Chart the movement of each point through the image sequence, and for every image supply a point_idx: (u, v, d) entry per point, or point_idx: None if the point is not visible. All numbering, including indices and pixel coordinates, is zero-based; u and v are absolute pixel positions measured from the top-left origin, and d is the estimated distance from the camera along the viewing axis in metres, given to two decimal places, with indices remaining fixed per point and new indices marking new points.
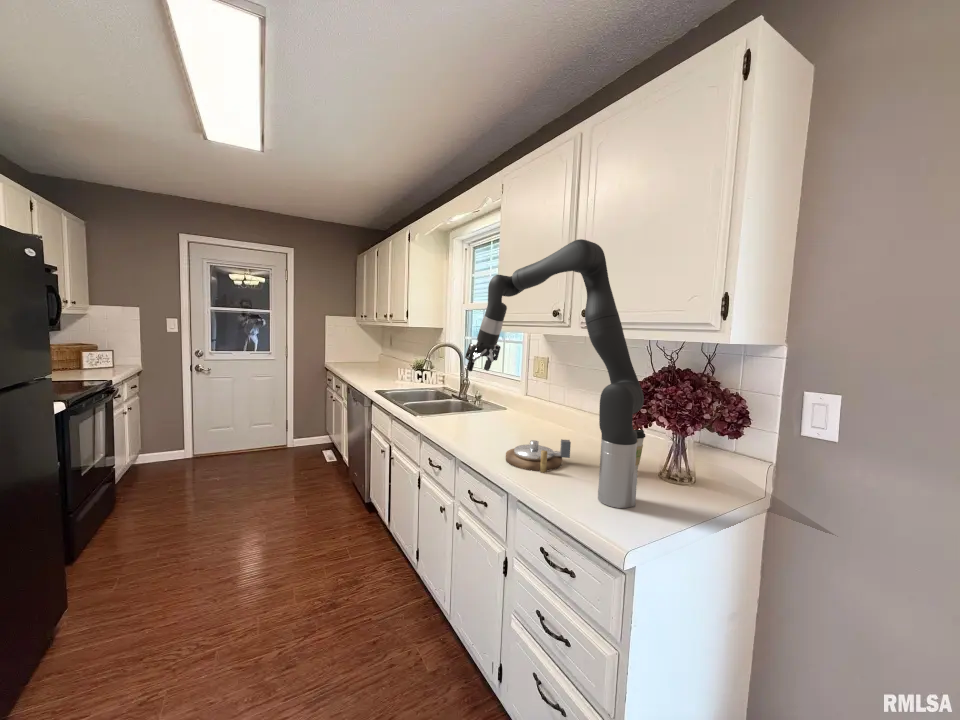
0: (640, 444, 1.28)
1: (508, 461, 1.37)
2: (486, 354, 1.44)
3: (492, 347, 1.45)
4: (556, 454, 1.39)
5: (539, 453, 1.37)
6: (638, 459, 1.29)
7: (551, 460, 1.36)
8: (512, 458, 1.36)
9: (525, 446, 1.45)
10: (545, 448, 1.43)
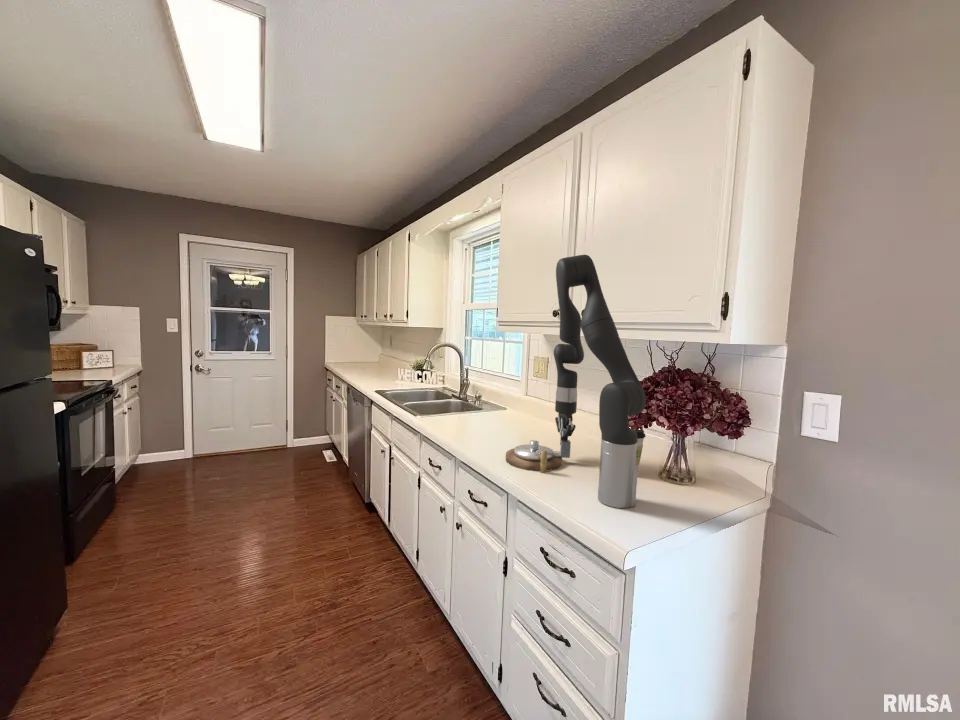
0: (640, 444, 1.28)
1: (508, 461, 1.37)
2: None
3: (565, 418, 1.39)
4: (556, 454, 1.39)
5: (539, 453, 1.37)
6: (638, 459, 1.29)
7: (551, 460, 1.36)
8: (512, 458, 1.36)
9: (525, 446, 1.45)
10: (545, 448, 1.43)
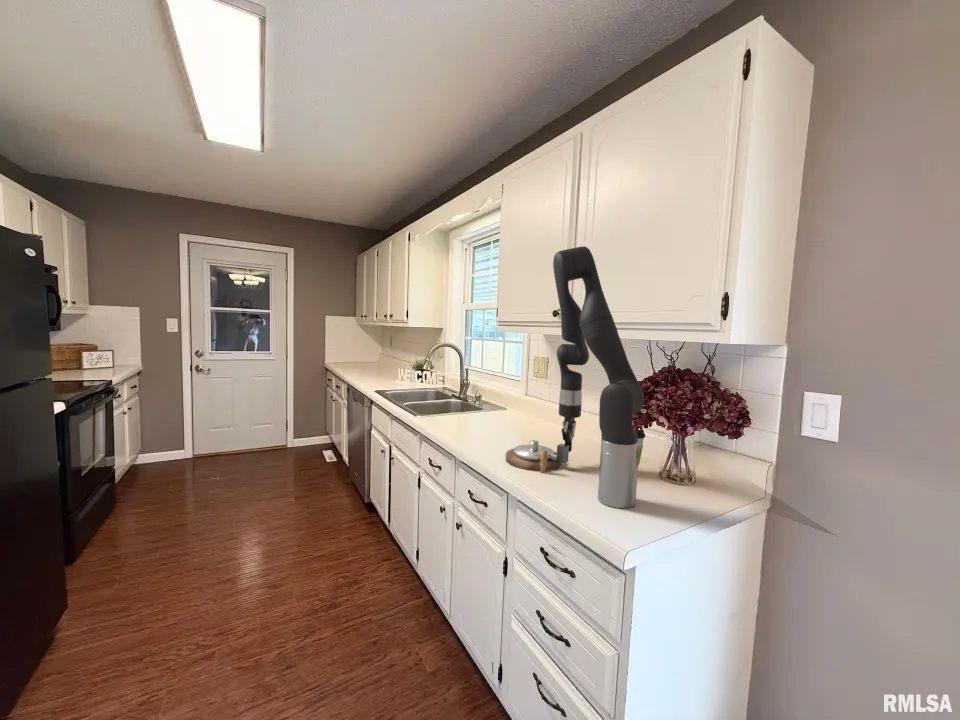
0: (640, 444, 1.28)
1: (508, 461, 1.37)
2: None
3: None
4: (552, 457, 1.35)
5: (533, 453, 1.37)
6: (638, 459, 1.29)
7: (551, 460, 1.36)
8: (512, 458, 1.36)
9: None
10: (548, 450, 1.40)
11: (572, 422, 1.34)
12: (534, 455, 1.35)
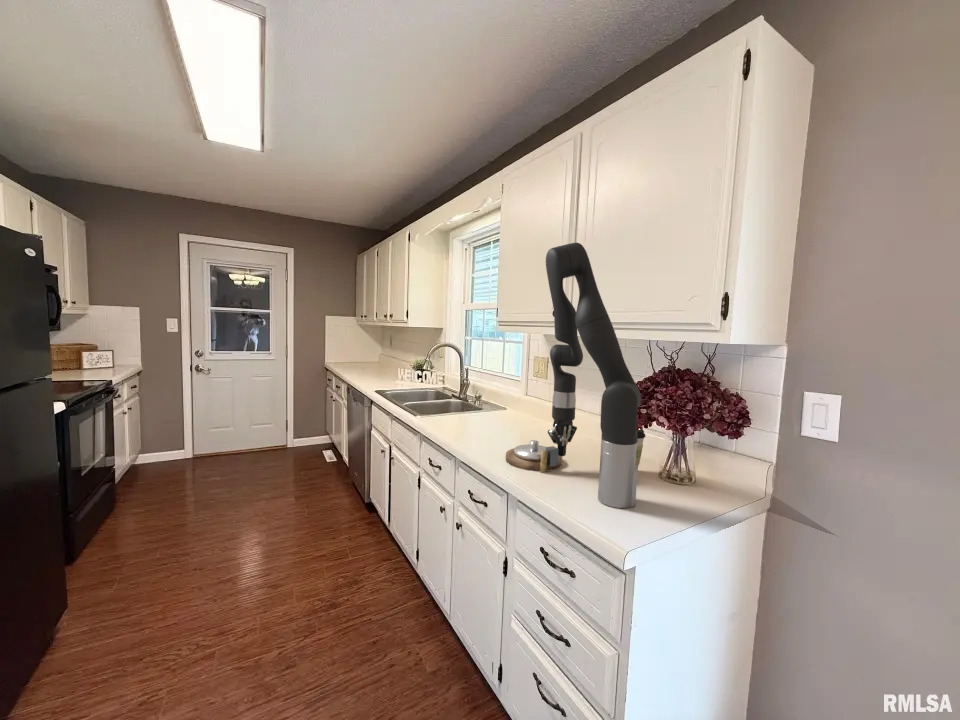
0: (640, 444, 1.28)
1: (508, 461, 1.37)
2: None
3: None
4: None
5: (528, 452, 1.37)
6: (638, 459, 1.29)
7: None
8: (512, 458, 1.36)
9: (539, 446, 1.45)
10: None
11: (563, 425, 1.29)
12: (525, 454, 1.36)
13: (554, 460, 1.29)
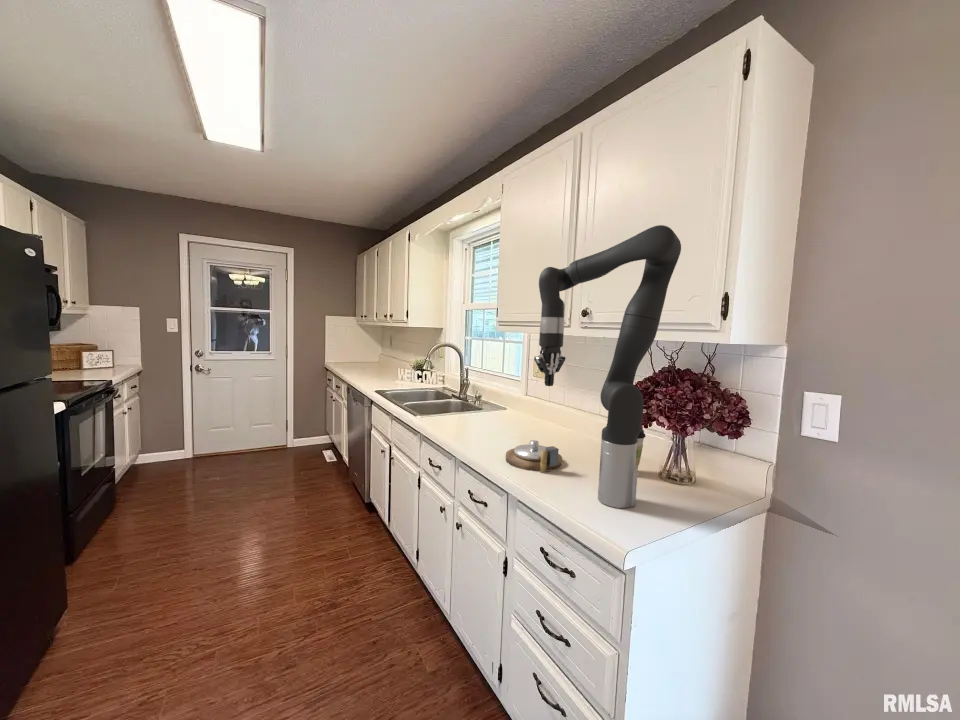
0: (640, 444, 1.28)
1: (508, 461, 1.37)
2: None
3: None
4: None
5: (528, 452, 1.37)
6: (638, 459, 1.29)
7: None
8: (512, 458, 1.36)
9: (539, 446, 1.45)
10: None
11: (550, 353, 1.23)
12: (525, 454, 1.36)
13: (554, 460, 1.29)
